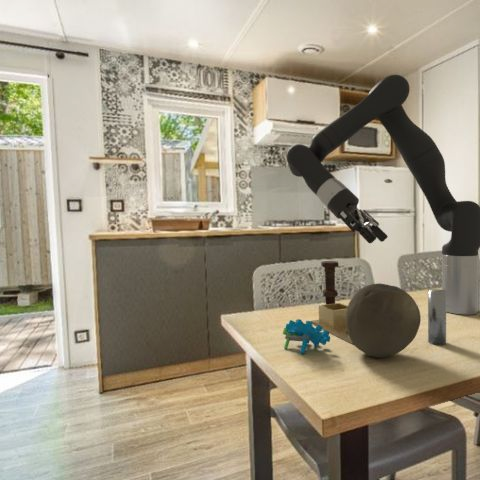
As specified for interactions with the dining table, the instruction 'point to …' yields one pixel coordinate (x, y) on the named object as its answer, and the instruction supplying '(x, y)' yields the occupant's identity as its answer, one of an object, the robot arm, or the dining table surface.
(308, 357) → the dining table surface
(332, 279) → the bolt
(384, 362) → the dining table surface
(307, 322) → the blue lobed toy
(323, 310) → the hinge leaf
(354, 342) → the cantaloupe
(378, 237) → the robot arm
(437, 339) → the pin
